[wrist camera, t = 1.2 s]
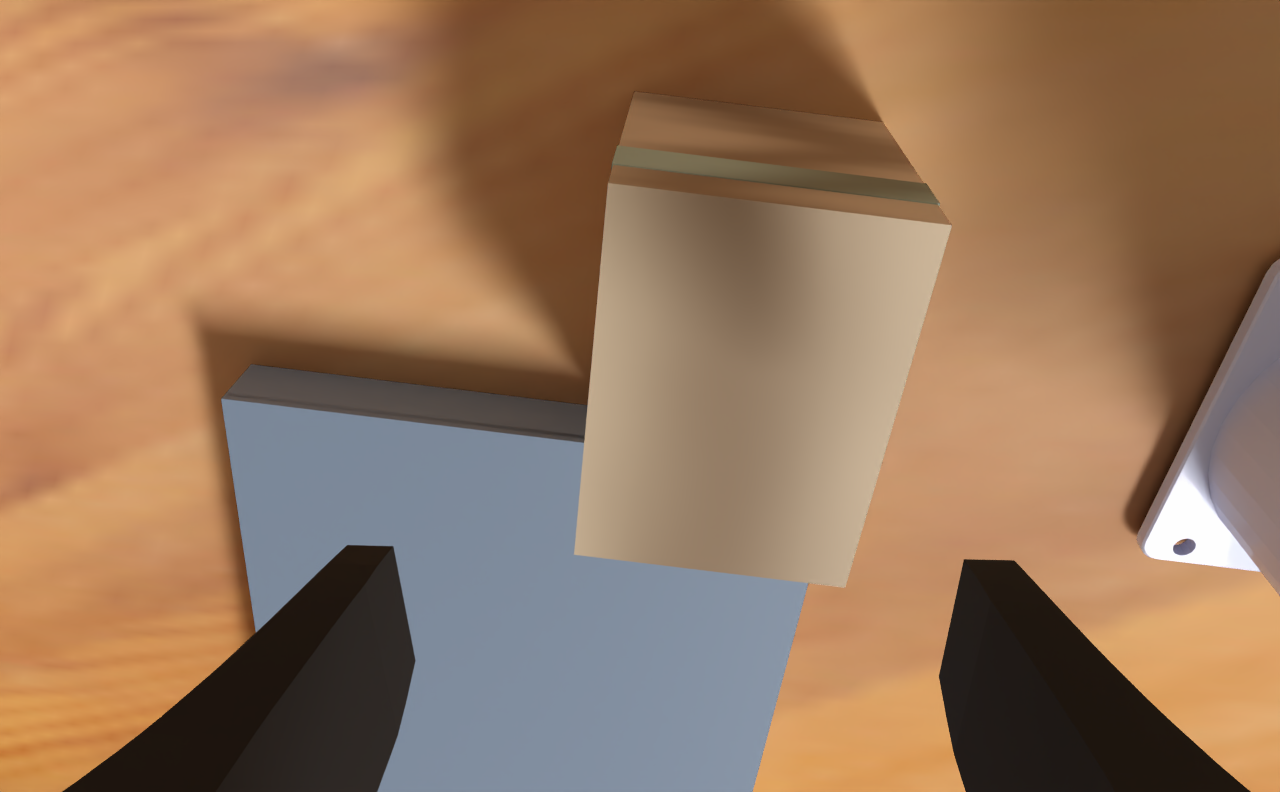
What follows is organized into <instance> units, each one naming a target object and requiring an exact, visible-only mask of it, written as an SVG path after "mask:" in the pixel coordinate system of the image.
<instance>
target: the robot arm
mask: <svg viewBox="0 0 1280 792" xmlns="http://www.w3.org/2000/svg"><path fill="white" fill-rule="evenodd" d="M1182 539H1186V541H1185V542H1183V543H1181V544H1179V545H1175V543H1176V542H1178V541H1180V540H1182ZM1137 542H1138V545H1139V547H1140V548H1141V550H1142V551H1143V553H1144V554H1145V555H1147V556H1148V557H1150V558H1154V559H1160V560H1168V561H1176V562H1184V563H1193V564H1201V565H1209V566H1217V567H1225V568H1234V569H1242V570H1250V571H1258V572H1262V574H1263V575H1264V576H1265V578H1266V579H1267V580H1268V581H1269V583H1270V584H1271V585H1272V587H1273V588H1274V589H1275V591H1276V592H1277V593H1278V594H1279V596H1280V259H1278V260H1277V261H1276V262H1274V263H1273V264H1272V265H1271V267H1270V268H1269V270H1268V271H1267V272H1266V274H1265V276H1264V278H1263V280H1262V283H1261V285H1260V287H1259V289H1258V291H1257V293H1256V295H1255V297H1254V299H1253V301H1252V303H1251V305H1250V307H1249V309H1248V311H1247V313H1246V315H1245V317H1244V319H1243V321H1242V323H1241V325H1240V327H1239V329H1238V331H1237V333H1236V335H1235V337H1234V339H1233V341H1232V343H1231V345H1230V347H1229V349H1228V351H1227V353H1226V356H1225V358H1224V360H1223V362H1222V364H1221V366H1220V368H1219V370H1218V372H1217V374H1216V376H1215V378H1214V380H1213V382H1212V384H1211V386H1210V388H1209V390H1208V392H1207V394H1206V396H1205V398H1204V400H1203V402H1202V404H1201V406H1200V408H1199V410H1198V412H1197V414H1196V416H1195V418H1194V420H1193V422H1192V424H1191V427H1190V429H1189V431H1188V433H1187V435H1186V437H1185V439H1184V441H1183V443H1182V445H1181V447H1180V449H1179V451H1178V453H1177V455H1176V457H1175V459H1174V461H1173V463H1172V465H1171V467H1170V469H1169V471H1168V473H1167V475H1166V477H1165V479H1164V481H1163V483H1162V485H1161V487H1160V489H1159V491H1158V493H1157V495H1156V497H1155V500H1154V502H1153V504H1152V506H1151V508H1150V510H1149V512H1148V514H1147V516H1146V518H1145V520H1144V522H1143V524H1142V526H1141V528H1140V530H1139V532H1138V535H1137ZM415 661H416V660H415V655H414V650H413V645H412V640H411V634H410V629H409V624H408V619H407V614H406V609H405V603H404V598H403V593H402V588H401V583H400V578H399V572H398V567H397V562H396V557H395V552H394V547H393V546H367V545H347V546H346V547H344V548H343V549H342V550H341V551H340V552H339V553H338V554H337V555H336V556H335V557H334V558H333V559H332V560H331V561H330V562H328V563H327V564H326V565H325V566H324V567H323V568H322V569H321V570H320V571H319V572H318V573H317V574H316V575H315V576H314V577H313V578H312V579H311V580H310V581H309V582H308V583H307V584H306V585H305V586H304V587H303V588H302V589H301V590H300V591H299V592H298V593H297V594H296V595H295V596H294V597H292V598H291V599H290V600H289V601H288V602H287V603H286V604H285V605H284V606H283V607H282V608H281V609H280V610H279V611H278V612H277V613H276V614H275V615H274V616H273V617H272V618H271V619H270V620H269V621H268V622H267V623H266V624H265V625H263V626H262V627H261V628H260V629H259V630H258V631H257V632H256V633H255V634H254V635H253V636H252V637H251V638H250V639H248V640H247V641H246V642H245V643H244V644H243V645H242V646H241V647H240V648H239V649H238V650H237V651H236V652H235V653H234V654H232V655H231V656H230V657H229V658H228V659H227V660H226V661H225V662H224V663H223V664H222V665H221V666H219V667H218V668H217V669H216V670H215V671H214V672H213V673H212V674H210V675H209V676H208V677H207V678H206V679H205V680H203V681H202V682H201V683H200V684H199V685H198V686H196V687H195V688H194V689H193V690H192V691H191V692H190V693H188V694H187V695H186V696H185V697H184V698H183V699H181V700H180V701H179V702H178V703H177V704H176V705H174V706H173V707H172V708H171V709H170V710H169V711H167V712H166V713H165V714H164V715H163V716H162V717H161V718H159V719H158V720H157V721H156V722H154V723H153V724H152V725H151V726H149V727H148V728H147V729H146V730H144V731H143V732H142V733H141V734H139V735H138V736H137V737H135V738H134V739H133V740H132V741H130V742H129V743H128V744H126V745H125V746H124V747H123V748H121V749H120V750H119V751H117V752H116V753H115V754H113V755H112V756H111V757H109V758H108V759H107V760H105V761H104V762H103V763H101V764H100V765H98V766H97V767H96V768H94V769H93V770H92V771H90V772H89V773H88V774H86V775H85V776H84V777H82V778H81V779H80V780H78V781H77V782H75V783H74V784H73V785H71V786H70V787H68V788H67V789H66V790H64V791H63V792H377V791H378V789H379V786H380V783H381V781H382V778H383V775H384V772H385V770H386V767H387V764H388V761H389V759H390V756H391V753H392V750H393V748H394V745H395V742H396V739H397V736H398V733H399V729H400V725H401V721H402V717H403V713H404V709H405V705H406V701H407V697H408V692H409V688H410V683H411V679H412V674H413V670H414V665H415ZM939 679H940V684H941V690H942V695H943V701H944V706H945V712H946V717H947V722H948V727H949V732H950V737H951V742H952V747H953V751H954V756H955V759H956V762H957V765H958V768H959V772H960V775H961V778H962V781H963V784H964V787H965V791H966V792H1250V791H1249V790H1248V789H1247V788H1245V787H1244V786H1243V785H1242V784H1241V783H1240V782H1238V781H1237V780H1236V779H1235V778H1234V777H1232V776H1231V775H1230V774H1229V773H1228V772H1227V771H1225V770H1224V769H1223V768H1222V767H1221V766H1220V765H1218V764H1217V763H1216V762H1215V761H1214V760H1213V759H1212V758H1211V757H1210V756H1208V755H1207V754H1206V753H1205V752H1204V751H1203V750H1202V749H1201V748H1200V747H1199V746H1197V745H1196V744H1195V743H1194V742H1193V741H1192V740H1191V739H1190V738H1189V737H1187V736H1186V735H1185V734H1184V733H1183V732H1182V731H1181V730H1180V729H1179V728H1178V727H1176V726H1175V725H1174V724H1173V723H1172V722H1171V721H1170V720H1169V719H1168V718H1167V717H1166V716H1165V715H1164V714H1162V713H1161V712H1160V711H1159V710H1158V709H1157V708H1156V707H1155V706H1154V705H1153V704H1152V703H1151V702H1150V701H1149V700H1148V699H1147V698H1146V697H1145V696H1144V695H1143V694H1142V693H1141V692H1140V691H1139V690H1138V689H1137V688H1136V687H1135V686H1134V685H1133V684H1132V683H1131V682H1130V681H1129V680H1128V679H1127V678H1126V677H1125V676H1124V675H1123V674H1122V673H1121V672H1120V671H1119V670H1118V669H1117V668H1116V667H1115V666H1114V665H1113V664H1112V663H1111V662H1110V661H1109V660H1108V659H1107V658H1106V657H1105V656H1104V655H1103V654H1102V653H1101V652H1100V651H1099V650H1098V649H1097V648H1096V647H1095V646H1094V645H1093V644H1092V643H1091V642H1090V641H1089V640H1088V639H1087V637H1086V636H1085V635H1084V634H1083V633H1082V632H1081V631H1080V630H1079V629H1078V628H1077V627H1076V626H1075V625H1074V624H1073V623H1072V622H1071V621H1070V620H1069V618H1068V617H1067V616H1066V615H1065V614H1064V613H1063V612H1062V611H1061V610H1060V609H1059V608H1058V607H1057V606H1056V605H1055V603H1054V602H1053V601H1052V600H1051V599H1050V598H1049V597H1048V596H1047V595H1046V594H1045V593H1044V592H1043V591H1042V590H1041V588H1040V587H1039V586H1038V585H1037V584H1036V583H1035V582H1034V581H1033V580H1032V579H1031V578H1030V577H1029V576H1028V575H1027V574H1026V572H1025V571H1024V570H1023V569H1022V568H1021V567H1020V566H1019V565H1018V564H1017V563H1016V562H1015V561H1010V560H967V559H964V562H963V567H962V571H961V576H960V581H959V585H958V590H957V595H956V599H955V604H954V609H953V613H952V618H951V623H950V627H949V632H948V637H947V641H946V646H945V651H944V655H943V660H942V665H941V670H940V674H939Z"/></svg>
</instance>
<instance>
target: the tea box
mask: <svg viewBox="0 0 1280 792" xmlns="http://www.w3.org/2000/svg"><path fill="white" fill-rule="evenodd" d="M939 205H940V203H939V202H938V200H937V199H936V197H935V196H934V194H933V193H932V191H931V190H930V188H929V187H928V185H927V184H926V183H923V181H922V180H921V178H920V177H919V175H918V174H917V172H916V171H915V169H914V168H913V166H912V165H911V163H910V162H909V160H908V159H907V157H906V156H905V154H904V153H903V151H902V150H901V148H900V147H899V145H898V144H897V142H896V141H895V139H894V138H893V136H892V135H891V133H890V132H889V130H888V129H887V127H886V126H885V124H884V123H883V122H879V121H871V120H863V119H855V118H847V117H839V116H830V115H822V114H814V113H806V112H798V111H790V110H782V109H774V108H766V107H758V106H750V105H742V104H733V103H725V102H717V101H709V100H701V99H693V98H685V97H677V96H669V95H661V94H653V93H645V92H636V91H634V94H633V98H632V101H631V105H630V108H629V112H628V115H627V118H626V122H625V125H624V129H623V132H622V136H621V139H620V143H619V145H617V148H616V151H615V155H614V158H613V162H612V169H611V174H610V178H609V181H608V188H607V199H606V210H605V221H604V232H603V243H602V254H601V265H600V276H599V287H598V298H597V308H596V319H595V330H594V341H593V352H592V363H591V374H590V385H589V396H588V407H587V418H586V429H585V440H584V451H583V462H582V473H581V484H580V495H579V506H578V516H577V527H576V538H575V549H574V555H581V556H589V557H597V558H605V559H614V560H622V561H630V562H638V563H646V564H655V565H663V566H671V567H679V568H688V569H696V570H704V571H712V572H720V573H729V574H737V575H745V576H753V577H761V578H770V579H778V580H786V581H794V582H803V583H811V584H819V585H827V586H835V587H844V588H845V586H846V583H847V580H848V576H849V573H850V569H851V566H852V563H853V559H854V556H855V552H856V549H857V546H858V542H859V539H860V536H861V532H862V529H863V525H864V522H865V519H866V515H867V512H868V508H869V505H870V502H871V498H872V495H873V492H874V488H875V485H876V481H877V478H878V475H879V471H880V468H881V464H882V461H883V458H884V454H885V451H886V447H887V444H888V441H889V437H890V434H891V431H892V427H893V424H894V420H895V417H896V414H897V410H898V407H899V403H900V400H901V397H902V393H903V390H904V386H905V383H906V380H907V376H908V373H909V370H910V366H911V363H912V359H913V356H914V353H915V349H916V346H917V342H918V339H919V336H920V332H921V329H922V325H923V322H924V319H925V315H926V312H927V309H928V305H929V302H930V298H931V295H932V292H933V288H934V285H935V281H936V278H937V275H938V271H939V268H940V265H941V261H942V258H943V254H944V251H945V248H946V244H947V241H948V237H949V234H950V231H951V227H952V225H951V223H950V222H949V220H948V219H947V217H946V216H945V214H944V213H943V211H942V210H941V208H940V207H939Z"/></svg>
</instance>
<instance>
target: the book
mask: <svg viewBox="0 0 1280 792" xmlns="http://www.w3.org/2000/svg"><path fill="white" fill-rule="evenodd" d="M221 401H222V408H223V415H224V422H225V428H226V435H227V442H228V448H229V455H230V462H231V469H232V475H233V482H234V489H235V496H236V502H237V509H238V516H239V523H240V529H241V536H242V543H243V549H244V556H245V563H246V570H247V576H248V583H249V590H250V597H251V603H252V610H253V617H254V624H255V630H256V632H257V631H258V630H259V629H260V628H261V627H262V626H263V625H265V624H266V623H267V622H268V621H269V620H270V619H271V618H272V617H273V616H274V615H275V614H276V613H277V612H278V611H279V610H280V609H281V608H282V607H283V606H284V605H285V604H286V603H287V602H288V601H289V600H290V599H291V598H292V597H294V596H295V595H296V594H297V593H298V592H299V591H300V590H301V589H302V588H303V587H304V586H305V585H306V584H307V583H308V582H309V581H310V580H311V579H312V578H313V577H314V576H315V575H316V574H317V573H318V572H319V571H320V570H321V569H322V568H323V567H324V566H325V565H326V564H327V563H328V562H330V561H331V560H332V559H333V558H334V557H335V556H336V555H337V554H338V553H339V552H340V551H341V550H342V549H343V548H344V547H346V546H347V545H367V546H393V547H394V552H395V557H396V562H397V567H398V572H399V578H400V583H401V588H402V593H403V598H404V603H405V609H406V614H407V619H408V624H409V629H410V634H411V640H412V645H413V650H414V655H415V660H416V661H415V665H414V670H413V674H412V679H411V683H410V688H409V692H408V697H407V701H406V705H405V709H404V713H403V717H402V721H401V725H400V729H399V733H398V736H397V739H396V742H395V745H394V748H393V750H392V753H391V756H390V759H389V761H388V764H387V767H386V770H385V772H384V775H383V778H382V781H381V783H380V786H379V789H378V791H377V792H753V788H754V784H755V781H756V777H757V773H758V769H759V766H760V762H761V758H762V754H763V751H764V747H765V743H766V739H767V736H768V732H769V728H770V724H771V721H772V717H773V713H774V709H775V706H776V702H777V698H778V694H779V691H780V687H781V683H782V680H783V676H784V672H785V668H786V665H787V661H788V657H789V653H790V650H791V646H792V642H793V638H794V635H795V631H796V627H797V623H798V620H799V616H800V612H801V608H802V605H803V601H804V597H805V593H806V590H807V586H808V583H803V582H794V581H786V580H778V579H770V578H761V577H753V576H745V575H737V574H729V573H720V572H712V571H704V570H696V569H688V568H679V567H671V566H663V565H655V564H646V563H638V562H630V561H622V560H614V559H605V558H597V557H589V556H581V555H574V549H575V538H576V527H577V516H578V506H579V495H580V484H581V473H582V462H583V451H584V440H585V429H586V418H587V407H588V405H581V404H572V403H564V402H556V401H548V400H540V399H531V398H523V397H515V396H507V395H499V394H491V393H482V392H474V391H466V390H458V389H450V388H441V387H433V386H425V385H417V384H409V383H400V382H392V381H384V380H376V379H368V378H360V377H351V376H343V375H335V374H327V373H319V372H310V371H302V370H294V369H286V368H278V367H270V366H261V365H253V364H251V365H250V366H249V367H248V369H247V370H246V371H245V372H244V373H243V374H242V375H241V377H240V378H239V379H238V380H237V381H236V382H235V383H234V385H233V386H232V387H231V388H230V389H229V390H228V391H227V393H226V394H225V395H224V396H223V397H222V398H221Z"/></svg>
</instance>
